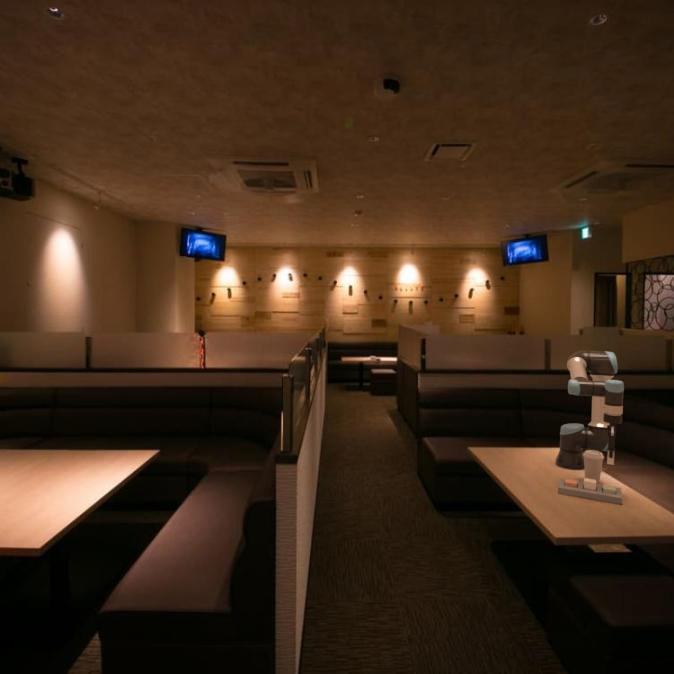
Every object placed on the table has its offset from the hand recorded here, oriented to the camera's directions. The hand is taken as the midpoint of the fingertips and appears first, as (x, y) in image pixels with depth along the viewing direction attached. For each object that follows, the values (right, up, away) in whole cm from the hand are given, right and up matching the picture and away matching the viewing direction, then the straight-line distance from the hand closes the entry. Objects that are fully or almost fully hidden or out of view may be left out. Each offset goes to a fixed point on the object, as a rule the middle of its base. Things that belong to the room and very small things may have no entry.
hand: (610, 463), depth 225 cm
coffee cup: (+3, -15, +22) cm, 26 cm away
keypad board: (-7, -16, +5) cm, 18 cm away
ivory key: (-7, -12, +4) cm, 15 cm away
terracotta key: (-14, -14, +8) cm, 22 cm away
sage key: (0, -15, +1) cm, 15 cm away
